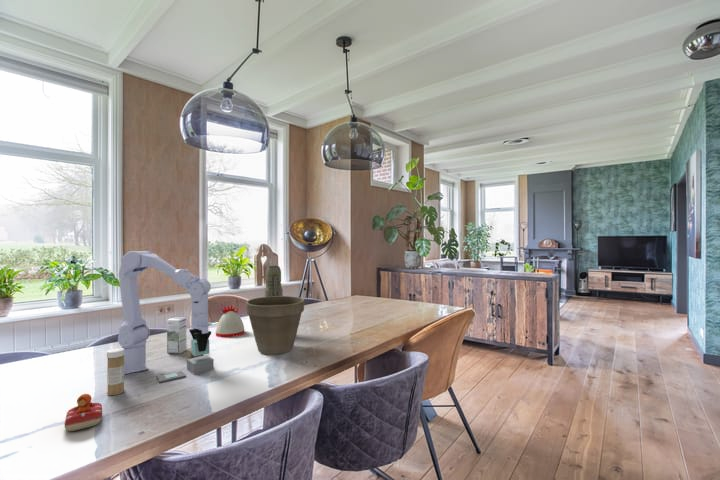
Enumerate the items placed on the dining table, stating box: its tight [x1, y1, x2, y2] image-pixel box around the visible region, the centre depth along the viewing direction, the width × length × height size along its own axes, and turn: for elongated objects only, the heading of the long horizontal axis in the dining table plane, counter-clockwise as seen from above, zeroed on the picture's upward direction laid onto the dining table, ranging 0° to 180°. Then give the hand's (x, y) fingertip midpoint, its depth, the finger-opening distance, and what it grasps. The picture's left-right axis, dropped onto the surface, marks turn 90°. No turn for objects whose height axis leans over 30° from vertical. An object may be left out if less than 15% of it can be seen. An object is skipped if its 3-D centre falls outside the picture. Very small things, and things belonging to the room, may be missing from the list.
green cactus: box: [264, 265, 284, 297], centre depth 178 cm, size 9×12×35 cm
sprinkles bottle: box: [106, 347, 125, 396], centre depth 110 cm, size 5×5×14 cm
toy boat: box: [64, 393, 103, 432], centre depth 91 cm, size 8×12×8 cm, turn 36°
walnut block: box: [186, 347, 205, 360], centre depth 139 cm, size 5×5×5 cm
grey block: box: [186, 354, 215, 375], centre depth 130 cm, size 7×7×4 cm
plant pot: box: [245, 295, 305, 356], centre depth 153 cm, size 25×25×22 cm
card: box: [156, 370, 187, 384], centre depth 122 cm, size 8×6×1 cm
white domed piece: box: [215, 304, 245, 338], centre depth 182 cm, size 14×14×15 cm
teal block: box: [190, 338, 210, 356], centre depth 130 cm, size 5×5×5 cm
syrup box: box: [166, 316, 188, 354], centre depth 153 cm, size 6×6×14 cm
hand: (200, 349), depth 130 cm, fingers closed on teal block, 5 cm apart
